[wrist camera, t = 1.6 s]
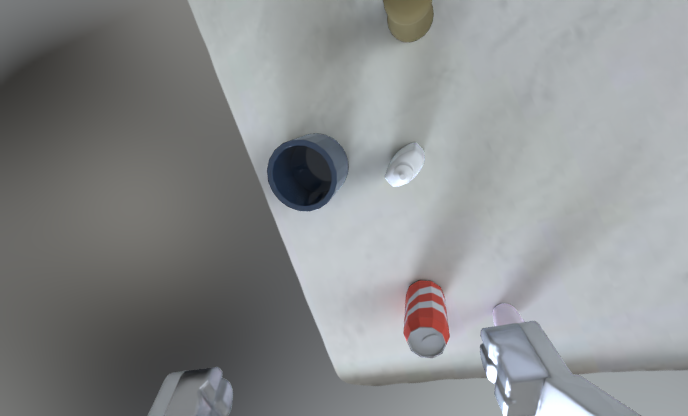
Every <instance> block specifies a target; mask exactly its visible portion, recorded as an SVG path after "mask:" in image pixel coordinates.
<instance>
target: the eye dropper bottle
mask: <svg viewBox="0 0 688 416" xmlns="http://www.w3.org/2000/svg"><path fill="white" fill-rule="evenodd" d="M424 161H425V154H424V150H423V149H422V148H421V147H420V146H419V145H418V144H417V143H416V142H414V143H411V144H408V145H406V146H405V147H403V148H402V149H400V150H399V151H398V152H397V153H396V154H395V155H394V157H393V158H392V160H391V162H390V164H389V166H388V169H387V171H386V174H385V178H386V180H387V181H388V182H389V183H390V184H391V185H392V186H394V187H398V186H401V185H403V184H406V183H409V182H410V181H411V180H412V179H413V178H414V177H415V176H416V175H417V174H418V173H419V171H420V170H421V168H422V166H423V164H424Z"/></svg>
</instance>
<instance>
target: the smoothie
mask: <svg viewBox="0 0 688 416" xmlns="http://www.w3.org/2000/svg"><path fill="white" fill-rule="evenodd" d="M493 318H494V326H500V325H507V324H513V323H516V324H517V323H523V322H525V321H524V320H523V318H522V317H521V315H520V314H519V313H518V311H517V310H516V308H515V307H514V306H512V305H511V304H507V303H503V304H499V305H497V306H496V307H495V308H494V310H493Z"/></svg>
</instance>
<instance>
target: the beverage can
mask: <svg viewBox="0 0 688 416" xmlns="http://www.w3.org/2000/svg"><path fill="white" fill-rule="evenodd" d="M404 336H405V338H406V341H407V343H408V345H409V347H410V349H411V351H412V352H414V353H415V354H417V355H418V356H420V357H425V358H434V357H436V356H438V355H440V354H442V353H443V351H444V349H445V346H446V344H447V342H448V340H449V337H450V335H449V328H448V320H447V312H446V304H445V297H444V294H443V292H442V289H441V287H440V286H438V285H436V284H435V283H433V282H432V281H417V282H416V283H414V284H412V285H411V286H409V289H408V291H407V294H406V304H405V319H404Z"/></svg>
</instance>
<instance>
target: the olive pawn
mask: <svg viewBox="0 0 688 416" xmlns="http://www.w3.org/2000/svg"><path fill="white" fill-rule="evenodd" d="M383 2H384V8H385V11H386V12H387V14H388V18H387V22H388V27H389V30H390V31H391V33H392V35H393V36H394V37H395V38H396V39H398V40H400V41H403V42H413V41H416V40H418V39H420V38H421V37H423V36H424V35H425V34H426V33H427V31H428V30H429V29H430V26H431V24H432V21H433V14H434V13H433V6H432V0H383Z"/></svg>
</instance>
